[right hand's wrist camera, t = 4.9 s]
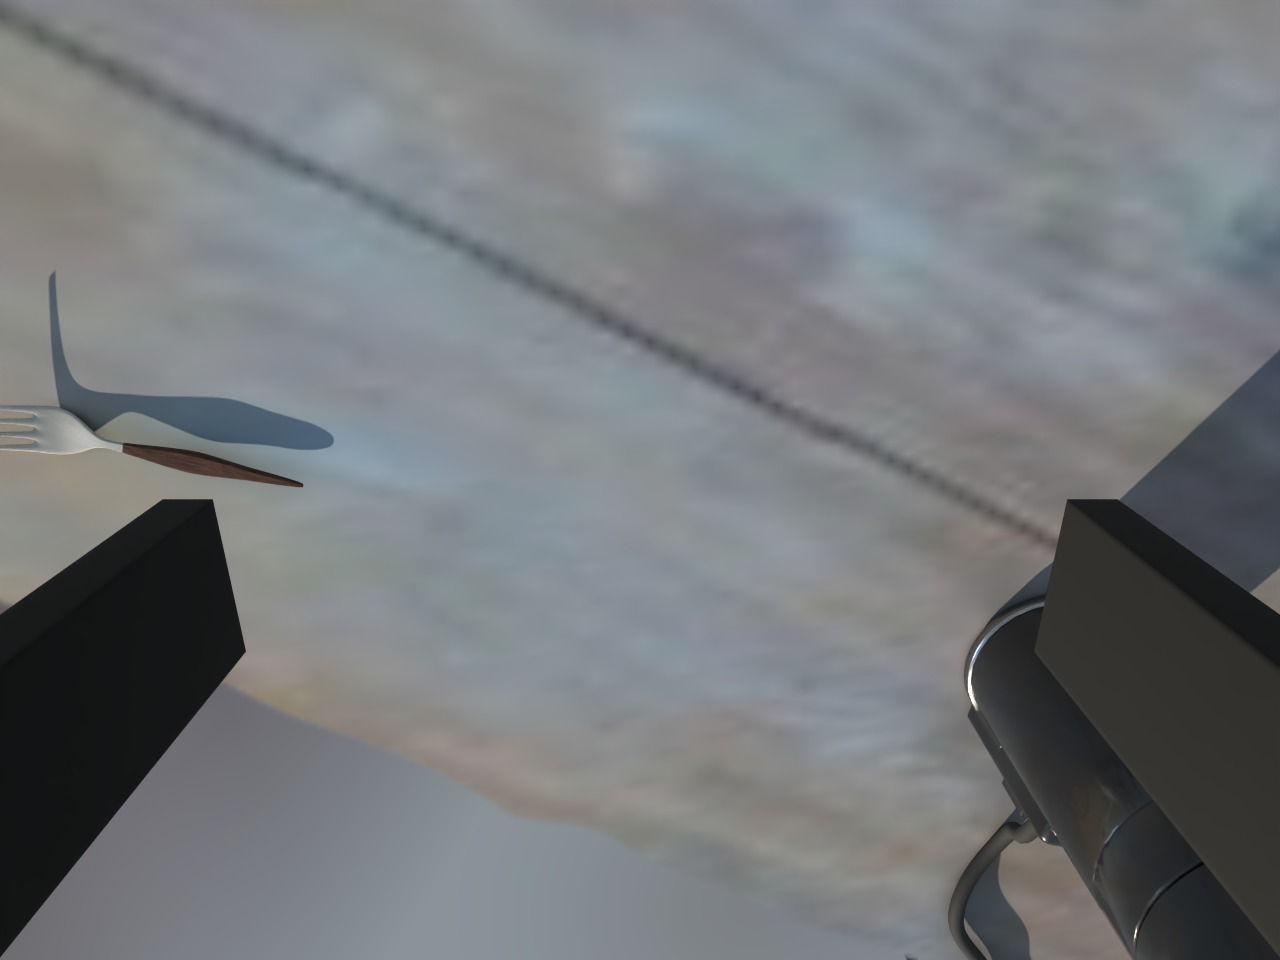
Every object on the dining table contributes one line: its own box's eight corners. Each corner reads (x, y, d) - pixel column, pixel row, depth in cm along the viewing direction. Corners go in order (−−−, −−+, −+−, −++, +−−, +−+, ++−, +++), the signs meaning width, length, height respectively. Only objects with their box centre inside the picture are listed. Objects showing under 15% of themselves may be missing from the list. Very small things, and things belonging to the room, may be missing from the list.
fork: (305, 504, 42) (289, 519, 40) (-7, 439, 41) (-38, 452, 39) (308, 459, 41) (293, 473, 40) (-11, 391, 40) (-42, 402, 38)
